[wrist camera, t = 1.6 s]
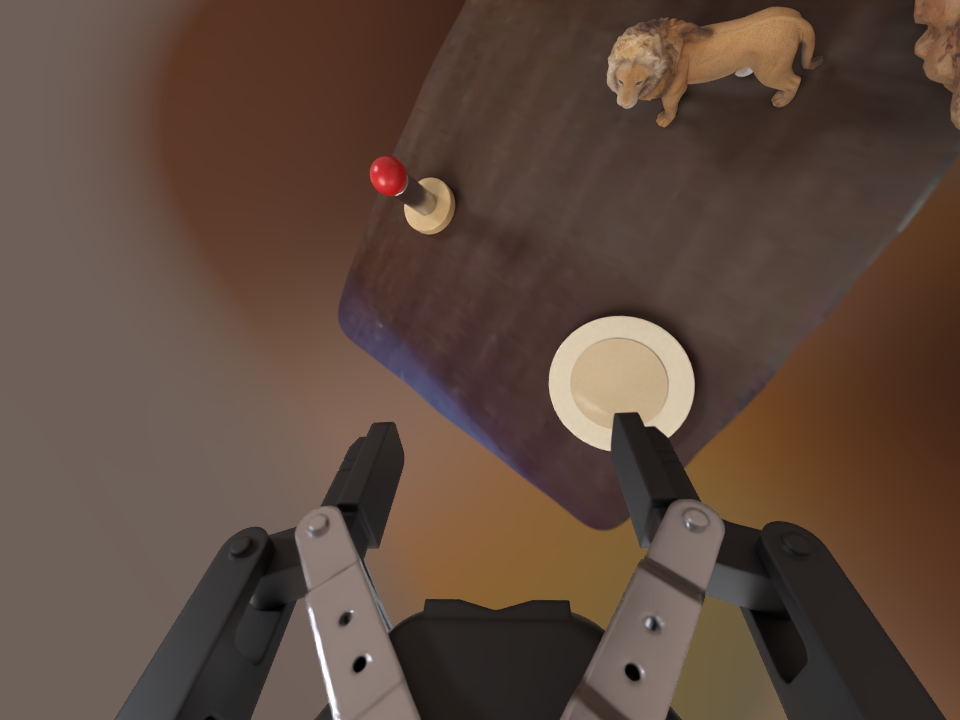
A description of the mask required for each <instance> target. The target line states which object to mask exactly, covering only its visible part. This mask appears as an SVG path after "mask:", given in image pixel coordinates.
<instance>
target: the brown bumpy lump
mask: <svg viewBox="0 0 960 720" xmlns="http://www.w3.org/2000/svg"><path fill="white" fill-rule="evenodd" d="M914 20H915V23H919V24H927V25H928V29H927V30H926V32H925V33H924V34H923V35H922V36H921V37H920V39H919V40H918V41H917V42H916V43H915V55H917V56H918V57H920V58H921V59H923V60H924V64H923V68H924V71H925V74H926V76H927V77H928V78H929V79H930V80H932V81H935V82H939V83H943V85H944V87H946V88H947V89H948V90H949V91H951V92H952V93H953V96H952V101H951V120H952V122H953V123H954V125H955V126H956V128H957V129H959V130H960V0H915V6H914Z"/></svg>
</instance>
